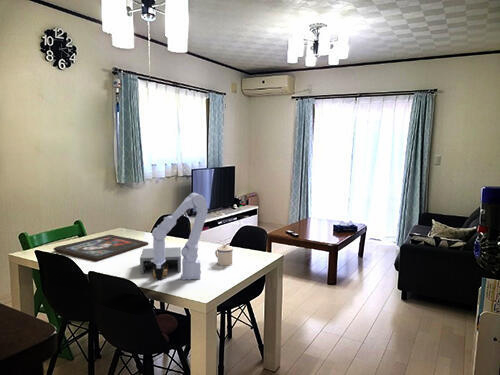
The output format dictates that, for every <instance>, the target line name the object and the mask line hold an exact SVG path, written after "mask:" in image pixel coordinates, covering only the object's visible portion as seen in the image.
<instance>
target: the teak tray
mask: <svg viewBox="0 0 500 375" xmlns="http://www.w3.org/2000/svg"><path fill="white" fill-rule="evenodd" d="M154 267H156V265H155V264H154ZM164 267H165V269H164V271H163V274H162V277H167V278H168V271H169V263H165V264H164ZM152 279H156V274H155V271H154V270H153V269H152Z"/></svg>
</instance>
